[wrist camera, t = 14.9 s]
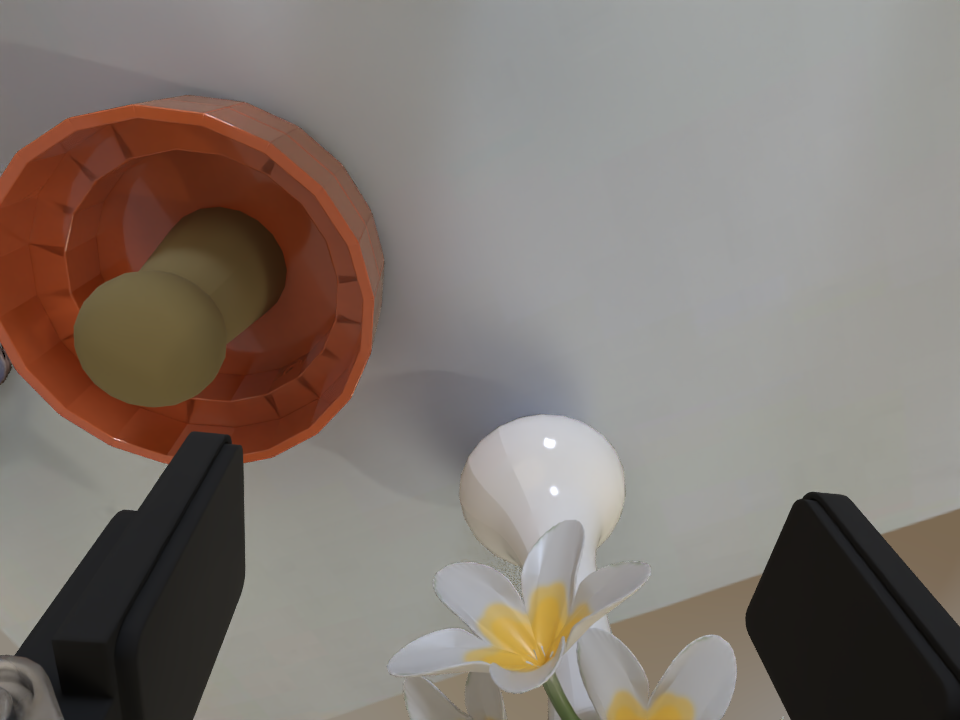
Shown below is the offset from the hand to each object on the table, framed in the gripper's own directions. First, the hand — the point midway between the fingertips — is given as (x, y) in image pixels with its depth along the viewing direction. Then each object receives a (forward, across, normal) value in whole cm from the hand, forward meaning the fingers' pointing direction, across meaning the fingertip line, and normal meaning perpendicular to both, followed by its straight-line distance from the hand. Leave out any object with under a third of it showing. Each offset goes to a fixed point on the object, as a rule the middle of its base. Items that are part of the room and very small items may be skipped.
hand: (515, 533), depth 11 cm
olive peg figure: (+24, +12, +5) cm, 27 cm away
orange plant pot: (+24, +12, +5) cm, 28 cm away
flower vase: (+24, -5, +14) cm, 29 cm away
